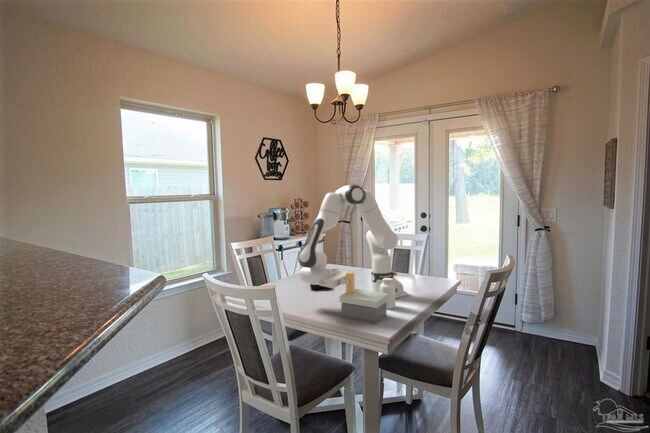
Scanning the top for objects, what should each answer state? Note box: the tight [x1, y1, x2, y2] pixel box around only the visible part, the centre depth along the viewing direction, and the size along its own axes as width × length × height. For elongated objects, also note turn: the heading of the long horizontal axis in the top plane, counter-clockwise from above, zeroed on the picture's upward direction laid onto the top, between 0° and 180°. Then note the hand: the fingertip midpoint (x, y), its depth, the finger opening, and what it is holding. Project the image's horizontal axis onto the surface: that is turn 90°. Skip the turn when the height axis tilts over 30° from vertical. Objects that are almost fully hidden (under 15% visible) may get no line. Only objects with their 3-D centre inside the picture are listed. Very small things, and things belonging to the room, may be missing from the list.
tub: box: [340, 302, 387, 324], centre depth 173 cm, size 18×13×7 cm
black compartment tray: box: [309, 284, 331, 292], centre depth 233 cm, size 18×30×4 cm, turn 17°
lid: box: [339, 271, 389, 308], centre depth 173 cm, size 19×14×13 cm
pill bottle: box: [380, 278, 396, 310], centre depth 186 cm, size 8×8×15 cm
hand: (351, 281), depth 176 cm, fingers closed on lid, 3 cm apart
